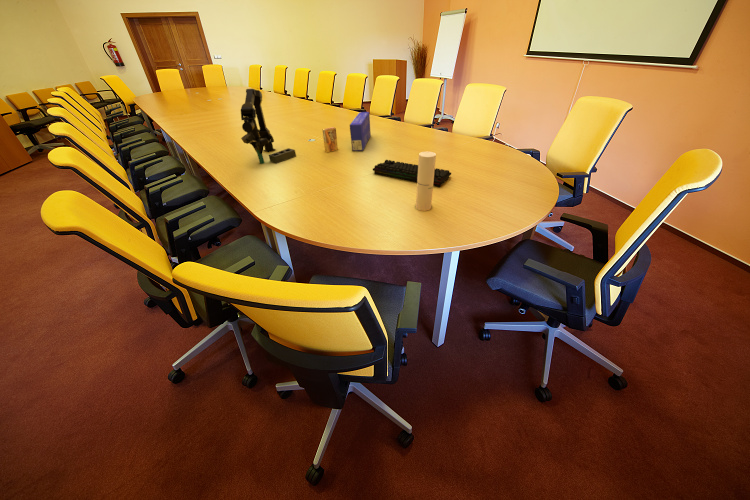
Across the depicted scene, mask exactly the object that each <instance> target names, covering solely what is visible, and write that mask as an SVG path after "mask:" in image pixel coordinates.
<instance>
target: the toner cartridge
mask: <svg viewBox="0 0 750 500" xmlns="http://www.w3.org/2000/svg"><path fill="white" fill-rule="evenodd" d="M370 116H371V115H370V111H360V112H358V113H357V115H356V116H355V117H354V118H353V119H352V121H351V122H350V124H349V132H350V134H349V135H350V143H351V151H352V152H363V151H364V150H365V148H366V146H367V144H368V142H369V140H370V138H371V136H372V135H371V120H370V119H371V117H370Z"/></svg>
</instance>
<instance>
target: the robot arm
mask: <svg viewBox="0 0 750 500" xmlns="http://www.w3.org/2000/svg"><path fill="white" fill-rule="evenodd" d="M244 100H245V101H244V103H243V104H242V105H241V107H240V118H241V119H240V120H241V121H243V123H242V125H241V128H242V130H243V132H245V133H246V134H244V135H243V136H242V137H241V138H240V140H242V142H243V143H244V144H247V145H248V144H250V145H251V146H252V147H253V149H254V151H255V152H256V153H257V151H256V148H255V147H258V149H259V152H260V154H262V155H263V152H266V153H272V152H274V151H276V149H275V148H274V144H273V143H274V142H275V139H274V137H273V135H272V133H271V131H270V130H269V128H268V127H267V125H266V120H265V116H264V111H263V107H262V102H263V93H262V91H260V90H259V89H255V88H246V89H245V98H244ZM256 119H257V121H256ZM257 123H258V125H257ZM258 126H259V128H258Z"/></svg>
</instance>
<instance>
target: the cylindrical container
mask: <svg viewBox="0 0 750 500" xmlns="http://www.w3.org/2000/svg"><path fill="white" fill-rule="evenodd" d="M436 159H437V153H436V152H434V151H421V152H419V153H418V161H417V165H418V178H417V183H416V198H415V209H416V210H418V211H423V212H425V211H429V210H432V201H433V191H434V186H433V182H434V171H435V169H436V161H437V160H436Z"/></svg>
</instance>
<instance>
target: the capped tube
mask: <svg viewBox="0 0 750 500" xmlns="http://www.w3.org/2000/svg"><path fill="white" fill-rule="evenodd" d="M255 148H256V151H257V152H256V151H255V152H256V155H257V159H258V162H259V164H261V165H262V164H265V159H264V156H263V155H264V154H263V153H262V154H260V152H259V149H258V147H255Z"/></svg>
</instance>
